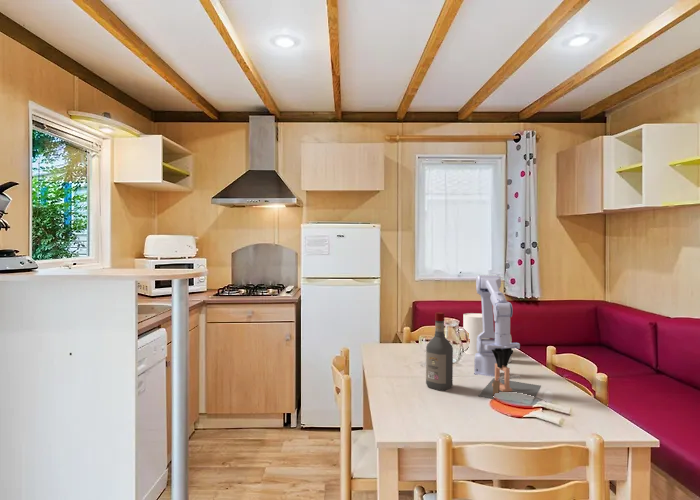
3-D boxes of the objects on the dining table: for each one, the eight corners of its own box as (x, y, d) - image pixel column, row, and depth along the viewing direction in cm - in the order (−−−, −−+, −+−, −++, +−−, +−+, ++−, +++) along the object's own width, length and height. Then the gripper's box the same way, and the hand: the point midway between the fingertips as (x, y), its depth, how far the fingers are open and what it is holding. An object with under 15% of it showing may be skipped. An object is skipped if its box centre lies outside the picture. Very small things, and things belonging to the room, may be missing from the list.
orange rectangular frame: (503, 392, 169) (503, 368, 169) (492, 385, 176) (492, 363, 176) (512, 391, 170) (512, 368, 170) (500, 385, 177) (500, 363, 177)
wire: (492, 396, 166) (493, 381, 166) (501, 384, 179) (501, 371, 179) (512, 399, 162) (513, 384, 162) (520, 387, 175) (520, 373, 175)
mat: (478, 396, 166) (478, 395, 166) (493, 378, 188) (493, 378, 188) (531, 406, 157) (531, 404, 157) (541, 386, 178) (541, 385, 178)
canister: (458, 352, 234) (458, 315, 234) (471, 348, 243) (472, 312, 243) (480, 357, 224) (481, 318, 224) (494, 352, 233) (494, 315, 233)
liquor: (443, 392, 171) (443, 315, 171) (423, 386, 177) (423, 312, 177) (454, 386, 178) (455, 312, 177) (435, 381, 184) (435, 310, 183)
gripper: (491, 336, 167) (491, 371, 168) (524, 334, 171) (524, 368, 171) (481, 332, 174) (481, 366, 174) (513, 330, 178) (513, 364, 178)
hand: (502, 367), depth 173 cm, fingers closed on orange rectangular frame, 2 cm apart
